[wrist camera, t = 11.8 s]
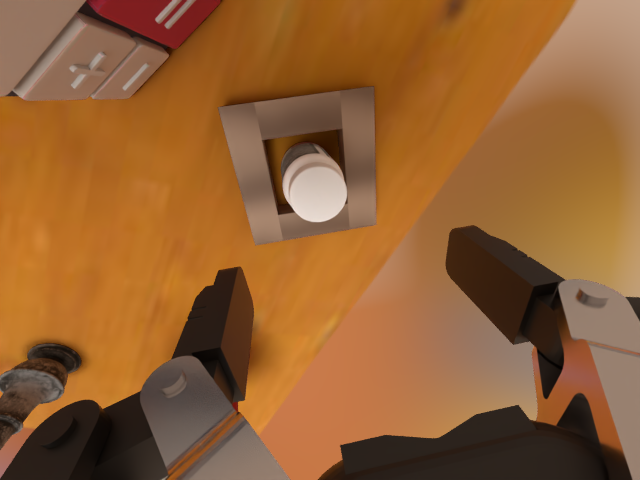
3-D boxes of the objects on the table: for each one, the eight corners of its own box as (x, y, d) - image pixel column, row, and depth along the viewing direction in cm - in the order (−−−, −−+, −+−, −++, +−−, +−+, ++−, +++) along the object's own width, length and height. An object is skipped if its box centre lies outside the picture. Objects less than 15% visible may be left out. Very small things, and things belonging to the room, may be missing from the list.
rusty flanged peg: (94, 368, 34) (11, 491, 23) (47, 379, 33) (-58, 508, 23) (63, 336, 31) (-48, 461, 20) (12, 348, 31) (-127, 480, 20)
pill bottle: (275, 183, 26) (274, 218, 18) (288, 133, 24) (294, 151, 16) (321, 197, 27) (337, 234, 20) (337, 150, 25) (362, 173, 18)
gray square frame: (223, 106, 22) (217, 107, 20) (365, 87, 23) (374, 86, 21) (257, 233, 28) (255, 245, 26) (368, 215, 29) (376, 224, 26)
